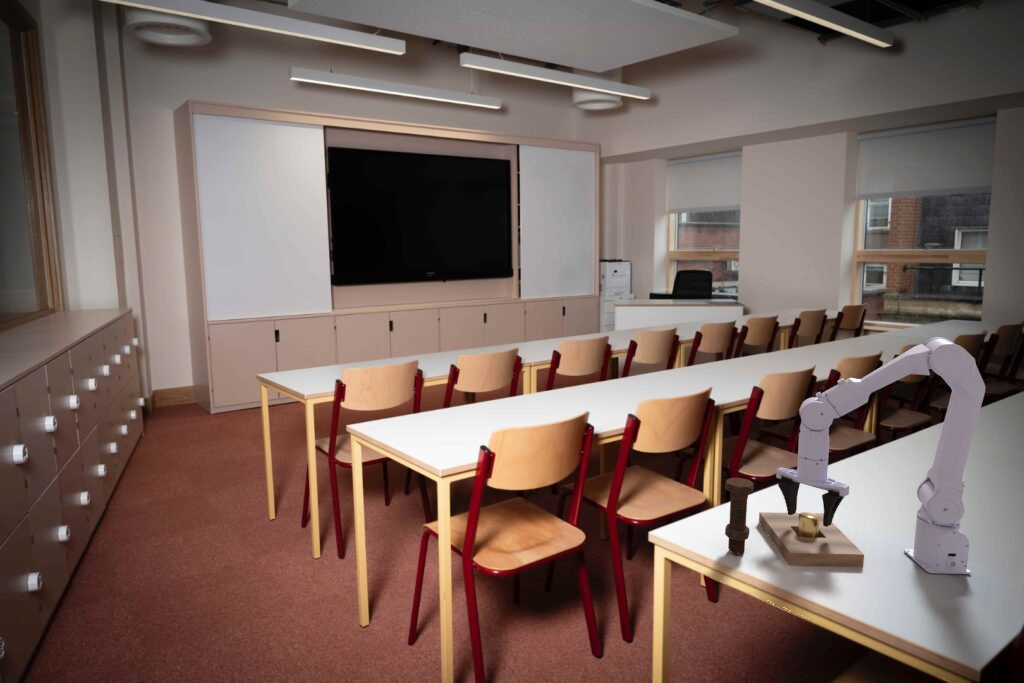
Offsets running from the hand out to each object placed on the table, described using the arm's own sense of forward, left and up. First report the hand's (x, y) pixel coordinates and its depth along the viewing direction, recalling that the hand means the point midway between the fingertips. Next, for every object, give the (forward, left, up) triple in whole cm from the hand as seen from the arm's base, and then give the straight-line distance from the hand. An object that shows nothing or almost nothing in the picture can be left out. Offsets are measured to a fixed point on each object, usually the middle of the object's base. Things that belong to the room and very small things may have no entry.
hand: (809, 519), depth 142 cm
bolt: (-5, +16, -6) cm, 18 cm away
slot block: (0, 0, -5) cm, 5 cm away
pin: (0, 0, -5) cm, 5 cm away
